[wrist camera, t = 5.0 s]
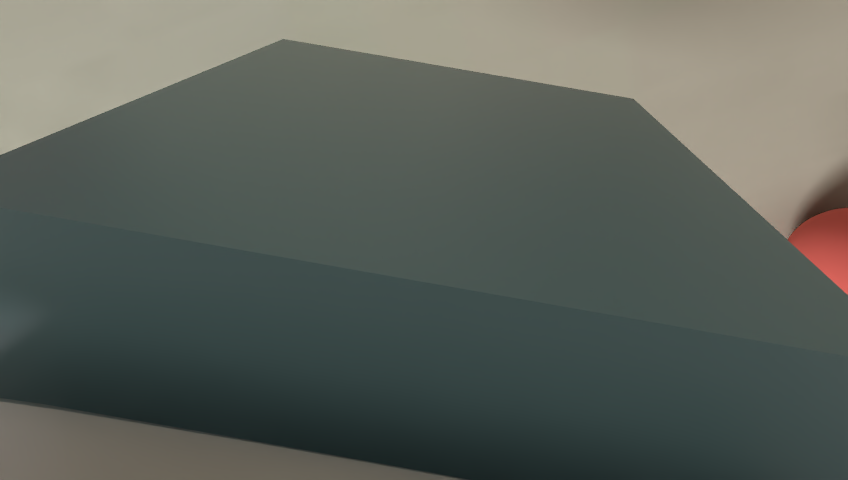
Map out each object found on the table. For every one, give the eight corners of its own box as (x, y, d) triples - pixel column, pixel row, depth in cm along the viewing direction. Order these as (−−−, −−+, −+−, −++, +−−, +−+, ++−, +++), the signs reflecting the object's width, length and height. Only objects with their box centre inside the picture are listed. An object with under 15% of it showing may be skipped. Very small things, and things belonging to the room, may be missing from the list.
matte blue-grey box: (633, 98, 12) (931, 370, 4) (544, 370, 15) (611, 793, 8) (283, 39, 12) (-90, 193, 4) (275, 323, 15) (69, 691, 8)
